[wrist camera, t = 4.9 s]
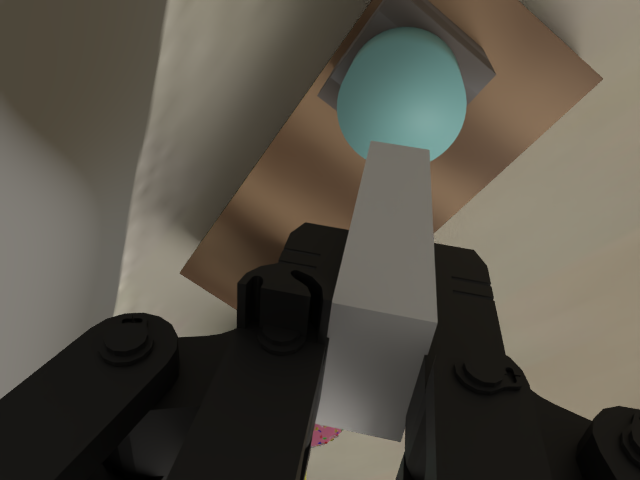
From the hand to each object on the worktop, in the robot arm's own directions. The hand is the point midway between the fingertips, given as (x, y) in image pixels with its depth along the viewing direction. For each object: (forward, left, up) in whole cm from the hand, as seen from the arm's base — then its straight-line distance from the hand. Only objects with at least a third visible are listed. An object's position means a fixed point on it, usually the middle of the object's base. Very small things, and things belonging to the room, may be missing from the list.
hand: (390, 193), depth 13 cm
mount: (-8, -2, -18) cm, 20 cm away
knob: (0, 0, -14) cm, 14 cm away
